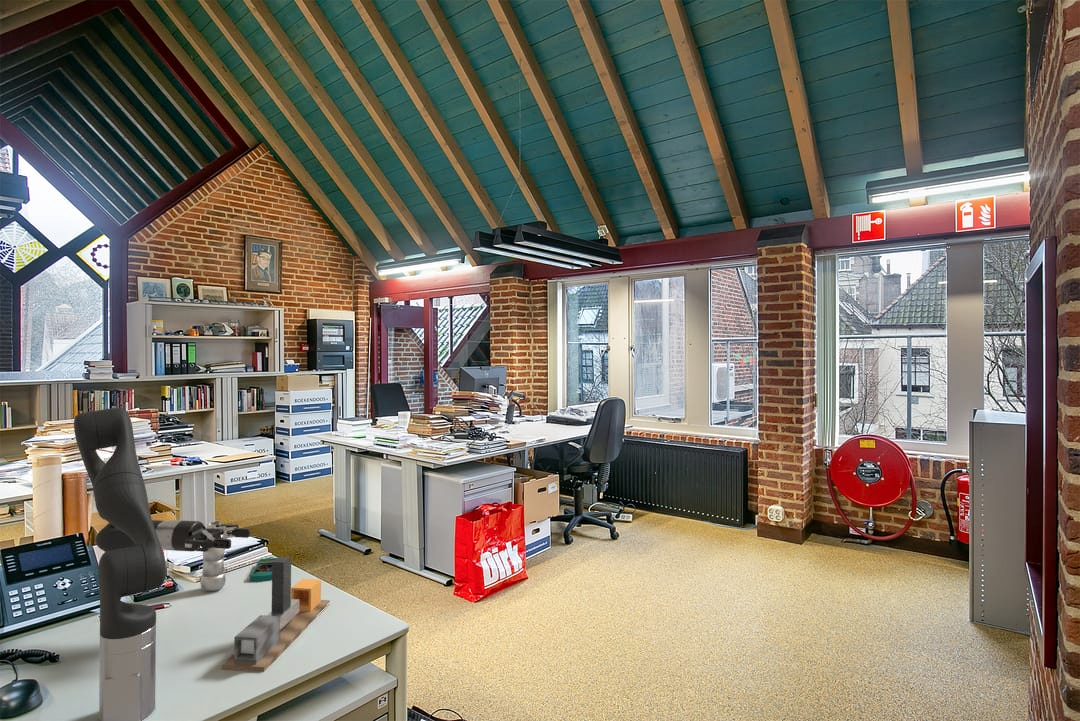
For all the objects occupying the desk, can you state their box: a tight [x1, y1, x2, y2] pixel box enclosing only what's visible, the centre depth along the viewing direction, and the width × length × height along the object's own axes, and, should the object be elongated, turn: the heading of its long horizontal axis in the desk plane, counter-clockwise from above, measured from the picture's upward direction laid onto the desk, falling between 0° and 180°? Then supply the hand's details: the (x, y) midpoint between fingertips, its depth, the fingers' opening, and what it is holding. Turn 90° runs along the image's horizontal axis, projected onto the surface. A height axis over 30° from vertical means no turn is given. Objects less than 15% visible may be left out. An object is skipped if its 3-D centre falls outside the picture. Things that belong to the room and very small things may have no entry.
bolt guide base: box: [220, 599, 331, 673], centre depth 153 cm, size 36×10×7 cm, turn 176°
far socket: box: [291, 578, 322, 612], centre depth 167 cm, size 6×6×6 cm
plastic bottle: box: [199, 521, 227, 592], centre depth 179 cm, size 6×7×20 cm
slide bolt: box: [241, 556, 299, 654], centre depth 148 cm, size 22×3×16 cm, turn 176°
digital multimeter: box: [249, 557, 278, 583], centre depth 193 cm, size 7×15×3 cm, turn 16°
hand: (240, 538), depth 153 cm, fingers open, 8 cm apart
